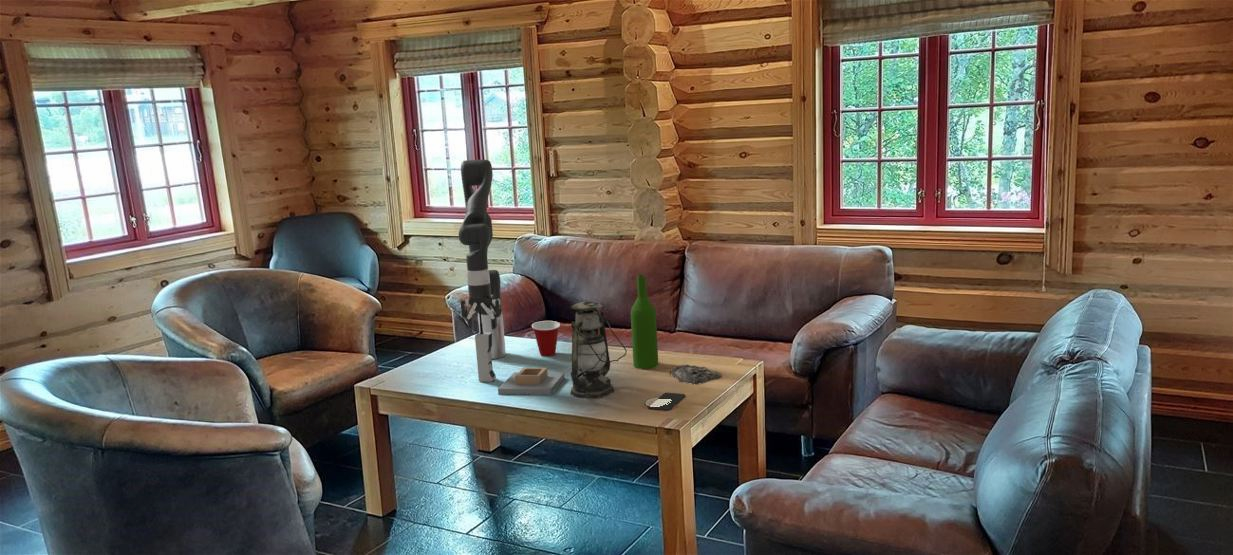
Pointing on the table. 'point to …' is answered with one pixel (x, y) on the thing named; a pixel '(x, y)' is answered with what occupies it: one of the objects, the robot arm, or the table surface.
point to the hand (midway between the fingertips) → (483, 329)
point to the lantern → (590, 352)
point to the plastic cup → (546, 336)
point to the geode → (694, 374)
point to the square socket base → (532, 382)
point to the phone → (675, 400)
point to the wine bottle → (644, 329)
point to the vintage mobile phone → (484, 355)
